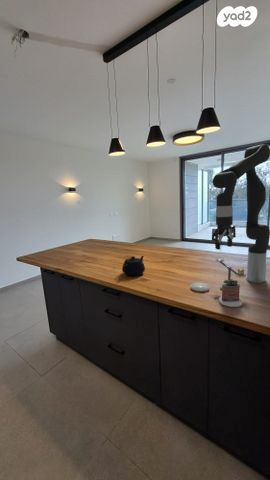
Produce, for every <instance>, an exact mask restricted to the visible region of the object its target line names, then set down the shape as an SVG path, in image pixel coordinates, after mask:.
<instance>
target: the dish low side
mask: <svg viewBox="0 0 270 480" xmlns="http://www.w3.org/2000/svg"><path fill="white" fill-rule="evenodd" d="M218 302H219V304H221V305H223V306H226V307H229V308H239V307H241V306H242V305H243V300H242V299H241V298H239V301H236V302H224V301H222V295H221V296H219V298H218Z"/></svg>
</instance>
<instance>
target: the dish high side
mask: <svg viewBox="0 0 270 480" xmlns="http://www.w3.org/2000/svg"><path fill="white" fill-rule="evenodd" d="M190 289H191V290H192V291H197V292H206V291H209V290H210V285H209V284H207V283H204V282H193V283H191V284H190Z"/></svg>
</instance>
